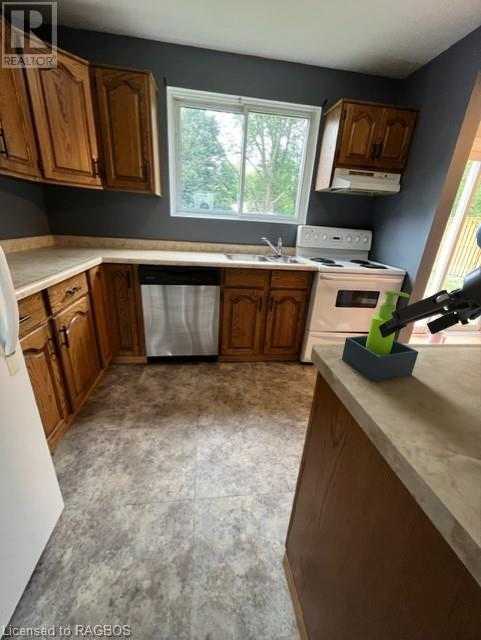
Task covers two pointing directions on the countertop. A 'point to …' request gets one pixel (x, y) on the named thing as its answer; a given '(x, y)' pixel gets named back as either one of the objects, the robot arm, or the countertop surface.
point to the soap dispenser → (374, 337)
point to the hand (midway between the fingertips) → (406, 330)
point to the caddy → (379, 359)
